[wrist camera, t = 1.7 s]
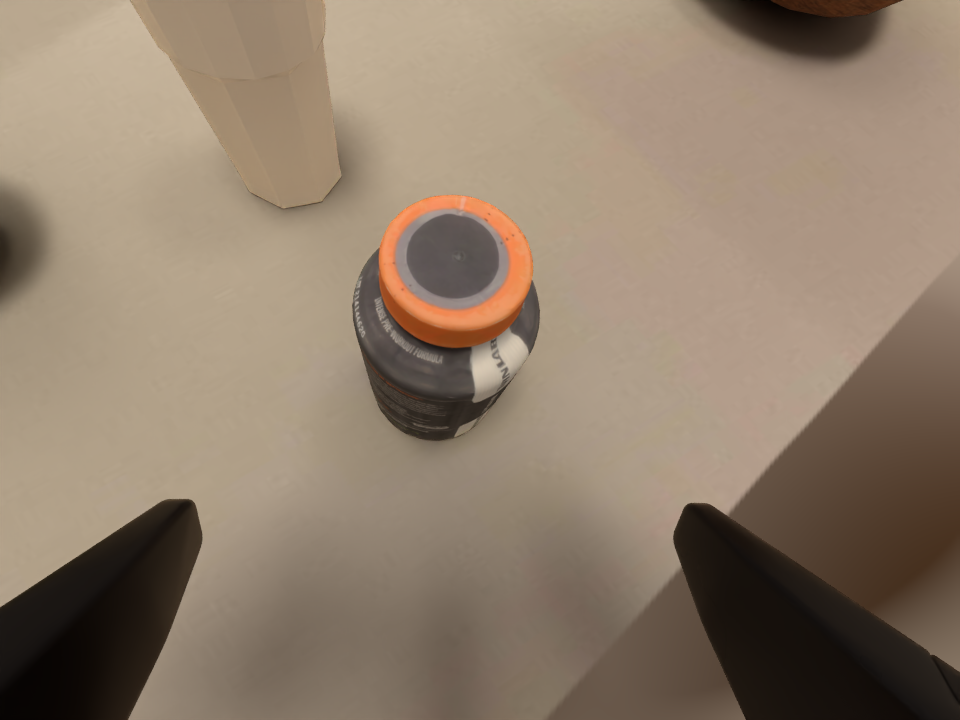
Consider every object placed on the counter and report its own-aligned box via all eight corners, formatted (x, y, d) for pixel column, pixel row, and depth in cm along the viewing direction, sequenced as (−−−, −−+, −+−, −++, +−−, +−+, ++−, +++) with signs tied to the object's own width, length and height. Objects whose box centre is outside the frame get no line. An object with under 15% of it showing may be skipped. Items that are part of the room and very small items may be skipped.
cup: (213, 210, 23) (49, -36, 12) (243, 112, 25) (124, -167, 15) (344, 228, 24) (293, 9, 13) (362, 132, 26) (330, -120, 15)
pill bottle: (512, 418, 22) (610, 329, 11) (394, 459, 20) (375, 403, 10) (470, 311, 23) (521, 143, 13) (358, 343, 22) (307, 182, 11)
